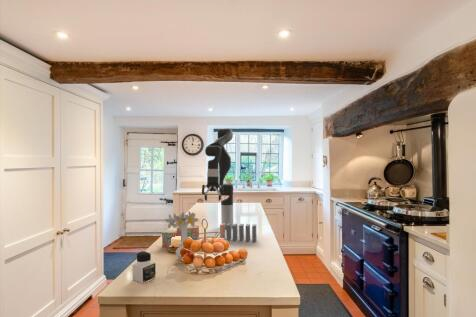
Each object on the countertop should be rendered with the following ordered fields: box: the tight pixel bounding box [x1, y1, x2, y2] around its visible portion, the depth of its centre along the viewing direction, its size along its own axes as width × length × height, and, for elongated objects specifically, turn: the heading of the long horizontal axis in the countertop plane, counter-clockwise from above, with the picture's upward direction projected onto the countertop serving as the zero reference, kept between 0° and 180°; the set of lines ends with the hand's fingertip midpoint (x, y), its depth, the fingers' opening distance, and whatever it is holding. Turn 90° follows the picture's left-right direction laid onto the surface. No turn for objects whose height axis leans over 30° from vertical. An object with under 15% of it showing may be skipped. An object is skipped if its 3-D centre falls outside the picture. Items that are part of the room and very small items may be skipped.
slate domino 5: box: [245, 223, 251, 243], centre depth 181 cm, size 2×5×10 cm, turn 168°
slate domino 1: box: [225, 223, 232, 242], centre depth 183 cm, size 2×5×10 cm, turn 168°
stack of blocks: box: [161, 224, 200, 248], centre depth 172 cm, size 21×6×12 cm, turn 86°
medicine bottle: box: [132, 250, 157, 284], centre depth 126 cm, size 7×7×12 cm
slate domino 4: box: [251, 223, 258, 243], centre depth 180 cm, size 2×5×10 cm, turn 168°
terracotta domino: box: [219, 223, 226, 239], centre depth 184 cm, size 2×5×10 cm, turn 168°
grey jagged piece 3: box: [232, 223, 239, 242], centre depth 182 cm, size 2×5×10 cm, turn 168°
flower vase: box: [165, 211, 199, 261], centre depth 150 cm, size 13×18×25 cm
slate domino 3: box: [238, 223, 245, 242], centre depth 181 cm, size 2×5×10 cm, turn 168°
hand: (212, 200), depth 184 cm, fingers open, 8 cm apart
